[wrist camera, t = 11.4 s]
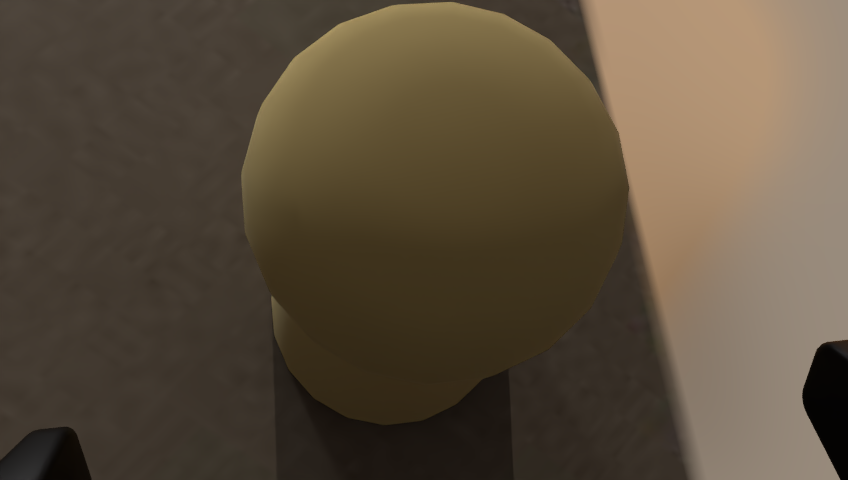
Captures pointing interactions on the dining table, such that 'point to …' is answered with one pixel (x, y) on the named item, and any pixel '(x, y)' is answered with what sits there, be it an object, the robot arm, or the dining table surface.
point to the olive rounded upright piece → (429, 206)
